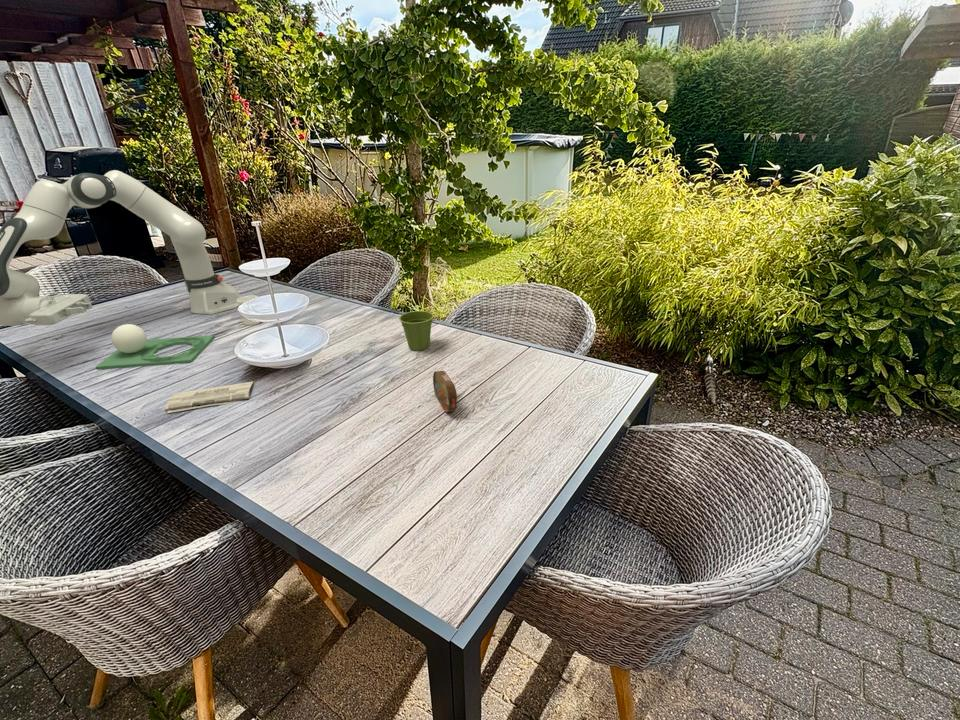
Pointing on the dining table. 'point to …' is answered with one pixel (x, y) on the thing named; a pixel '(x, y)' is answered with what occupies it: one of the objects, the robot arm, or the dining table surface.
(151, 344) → the putting mat
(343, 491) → the dining table surface
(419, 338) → the plant pot
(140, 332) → the ball
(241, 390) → the newspaper
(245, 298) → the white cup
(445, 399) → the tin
